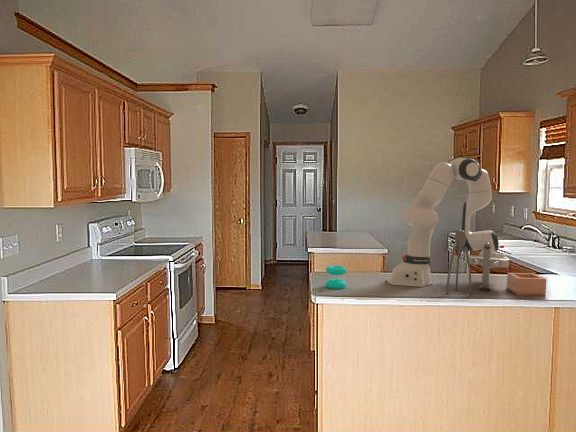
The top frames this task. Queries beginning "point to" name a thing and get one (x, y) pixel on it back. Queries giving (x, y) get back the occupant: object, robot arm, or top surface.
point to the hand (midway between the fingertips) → (486, 263)
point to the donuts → (336, 282)
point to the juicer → (460, 242)
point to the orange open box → (526, 284)
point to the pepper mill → (486, 269)
